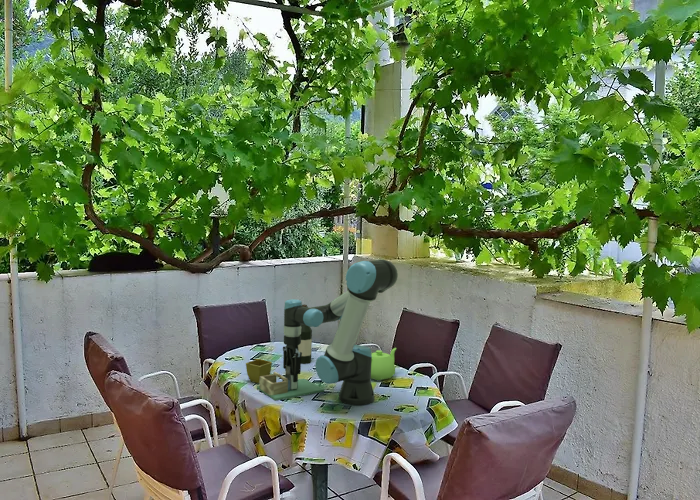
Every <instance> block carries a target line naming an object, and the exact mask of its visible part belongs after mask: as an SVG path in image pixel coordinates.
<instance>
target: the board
mask: <svg viewBox="0 0 700 500" xmlns="http://www.w3.org/2000/svg"><path fill="white" fill-rule="evenodd" d="M256 390H259V391H260V392H261V393H263V394H265V395H266V396H267V397H269V399H272V400H273V401H274V402H275V401H280V400H286V399H292V398H298V397H304V396H308V395H313V394H319V393H325V389H324V388H322V387H320V386H319V385H317V384H315V383H314V382H311V381H309V380H308V379H306V378H298V389H292V390H288V393H282V394H277V395H269V394H267V393H265V392H264V391H262V390H261V389H260V388H259V385H258V386H256Z"/></svg>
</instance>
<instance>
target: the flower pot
mask: <svg viewBox="0 0 700 500" xmlns="http://www.w3.org/2000/svg"><path fill="white" fill-rule="evenodd" d="M272 365H273V361H270V360H266V359H265V360H264V359H261V358H256V359H253V360H251V361H248V362H246V363H245V366H246V367H245V368H246V374H247V377H248V378H249V380H250V382H253V383H256V384H259V376H266V375H271V371H272Z"/></svg>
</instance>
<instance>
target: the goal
mask: <svg viewBox="0 0 700 500" xmlns="http://www.w3.org/2000/svg"><path fill="white" fill-rule="evenodd" d="M285 377H286V376H284V375H282V374H280V373H278V372H277V371H274V372H273V374H270V375H266V376H259V383H258V386H259V388H260V389H261V390H262V391H264V392H265V393H267V394H269V395H277V394H282V393H288V379H287V378H285ZM277 378H279V379H280V380H284V381H277Z"/></svg>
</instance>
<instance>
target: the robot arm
mask: <svg viewBox="0 0 700 500" xmlns="http://www.w3.org/2000/svg"><path fill="white" fill-rule="evenodd" d="M398 275H399V274H398V270H397V268H396V266H395V265H394V263H392V262H391V261H389V260H386V259H378V260H362V261H359V262H355V263H353V264H352V265H350V266H349V268H348V269H347V271H346V274H345V281H346V283H345V284H346V287H347V291H345V292H344V293H342V294H340V295H339V296H337V297H336V298H335V299H333V300H332V301H331V302H328V303H327V304H325V305H318V306H311V307H309V306H308V307H303V306H302V305H303V302H302V300H300V299H295V298H293V299H287V300H285V301H284V306H283V307H284V309H283V315H284V316H283V317H284V318H283V324H284V325H283V344H284V345H285V346H283V347H282V351H283V353H282V354H283V355H282V357H283V358H282V359H283V361H282V363H283V365H282V366H283V367H282V368H283V369H284V370H285V372H286V365H290V364H292V374H291V389H297V375H298V376H299V375H301V367H302V366H301V365H302V364H301V356H302V352H299V351H298V350H299V349H298V345H300V344H301V336H300V334H301V328H302V327H301V324H303V325H307V326H309V327H310V328H318V327H320V326H321V325H322V324H325V323H332V322H337V321H339V324H338V326H337V329H336V333H335V335H334V337H333V340H332V343H331V344H328V345H327V347H326V349H325V352H324V354H323V355H320V356H319V357H318V358H316V360H315V365H314V366H315V372H316V374H317V375H316V376H318V378H319V380H321V382H322V383H324V384H327V385H331V384H336V383H339V382H342V381H343V382H342V385H341V388H340V390H339V392H338V400H339V401H340V402H341V403H344V404H347V405H352V406H354V405H355V406H362V405H369V404H372V403H374V401H375V393H374V389H373V386H372V382H371V380H372V379H371V362H372V353H373V352H372V349H371V348H370V347H368V346H365V345H361V344H356V341H357V339H358V337H359V333H360V330H361V329H362V326H363V323H364V321H365V317H366V315H367V313H368V309H369V306H370V303H371V302H374V301H375V300H376V299H377V296H378V294H383V293H385V292H386V291H388V290H390V288H392V287H394V285H395V284H396V283H397V280H398Z"/></svg>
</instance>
